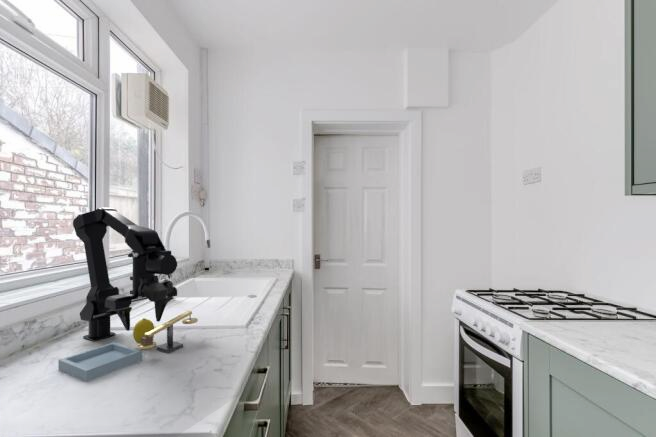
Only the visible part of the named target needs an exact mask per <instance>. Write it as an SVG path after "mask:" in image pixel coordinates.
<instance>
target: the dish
mask: <svg viewBox="0 0 656 437" xmlns="http://www.w3.org/2000/svg"><path fill="white" fill-rule="evenodd" d="M142 360H143V350H140V349H138V348H135V347H131V346H128V345H124V344H122V343H118V342H115V341H114V342H111V343H107V344H104V345H101V346H98V347H94V348H92V349H91V348H90V349H89V350H85V351H82V352H79V353H78V352H77V353H75V354H72V355H69V356H66V357H62V358H59V359H58V363H57V364H58V371H61V372H62V373H65V374H68V375H69V376H72V377H73V378H76V379H78V380H81V381H82V382H83V381H84V382H85V383H88V382H89V381H90V382H91V381H92V380H95V379H97V378H100V377H103V376H105V375H108V374H110V373H113V372H115V371H118V370H121V369H123V368H126V367H129V366H131V365H134V364H136V363H138V362H141V361H142Z"/></svg>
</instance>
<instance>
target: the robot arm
mask: <svg viewBox="0 0 656 437" xmlns="http://www.w3.org/2000/svg"><path fill="white" fill-rule="evenodd" d="M72 226H73V228H74V232H75V234H76V235H75V236H77V237H78V239H80V241H81V242H82V243H83V247H84V252H85V259H86V264H87V269H88V271H87V272H88V276H89V283H90V289H89V291H88V293H87V295H86V298H85V299H86V303H85V305H84V307H83V308H82V309H81V310H80V312H79V316H80V320H81V321H85V322H88V323H87V324H88V328H87V329H88V333H87V334H85V335H83V337H82V338H83V339H86V340H90V341H92V342H93V341H95V342H96V341H99V340H101V339H104V338H108V337H112V336H115V335H116V332H113V331H111V316H113V315H117V316H118V317H119V320H120V321H121V323H122V325H123V327H124V329H125V330H126V331H128V332H129V331H130V330H131V311H132V309H133V307H132V306H131V305H132V303H134V302H139V301H144V300H148V301H149V302H153V304H154V311H155V312H154V313H155V319H156V320H155V321H156V322H157V323H158V322H160V321H161V320H162V316H163V314H164V311H165V309H166V306H167V305H168V303H169V302H170V301H172V300H174V299H175V297H177V296H178V289H177V287H176V286H174V285H173V284H174V283H173V281H171V280H167V281H162V282H159V277H158V275H167V276H169V275H172V274H173V273H174V272H175V271H176V270H177V268H178V261H177V258H176V256H175V255H172V250H167V249H166V247H165V245H164V243H163V242H162V240H161V238H160V236H159V234H158V232H157V231H156V230H155V229H152V228H149V227H145V226H141V225H138V224H136V223H134V222H133V221H132V220H131V219H129V218H127V217H126V216H124V215H123V214H121V213H120V212H118V210H117V209H115V208H113V207H99V208H96V209H95V210H92V211H89V212H84V213H81V214H80V213H79V214H78V215H77V216H76V217H75V218H74V219H73V220H72ZM108 227H110V228H111V229H113V231H115V232H116V233H118V234H120V235H121V236H123V237H124V242H125V245H127V246H128V247H129V248H130V250H132V251H131V252H130V253H128V254H127V257H128V258H132V276H129V280H130V281H132V289H131V290H129V294H130V295H125V294H120V289H119V288H118V286H116V287H115V286H113V285H112V283H110V277H109V271H108V266H107V258H106V254H105V246H104V238H105V237H106V236H105V235H106V234H107V232H108ZM130 306H131V307H130Z"/></svg>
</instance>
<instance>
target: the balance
mask: <svg viewBox="0 0 656 437" xmlns="http://www.w3.org/2000/svg"><path fill="white" fill-rule="evenodd" d="M192 314H193V311H191V310H187V311H185V312H183V313H181V314H179V315H177V316H175V317H174V318H172V319H170V320H169V321H166V322H164V323H162V324H161V325H159V326H157V327H154V329H153V330H151V331H149V332H147V333H146V334H145V337H142V338H141V344H139V343H138V345H137V349H138V350H141V351H144V350H150V349H153V348H155V350H156V351H159V352H161V353H164V354H169V353H172V352H175V351H178V350H180V349H183V348H184V343H183V342H178V341H174V324H176V323H178V322H179V321H181V323H182V324H184V325H192V324H195V323H198V321H199V319H198V318H197V317H191V315H192ZM187 317H189V318H187ZM164 330H166V342H165V343H162V344H160V345H157V342H156V341H154V337H153V335H154V336H155V335H157V334H159V333H160V332H162V331H164Z"/></svg>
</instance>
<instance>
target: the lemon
mask: <svg viewBox="0 0 656 437" xmlns="http://www.w3.org/2000/svg"><path fill="white" fill-rule="evenodd" d="M153 329H155V325H154V323H153V321H152V320H150V319H147V318H142V319H141V320H140V319H139V321H137V322H136V323H135V325H134V327H133V331H132V336H133V340H134V341H135V342H136V343H137V344H138V345H139V344H141V338H142V337H145V334H146V333H147V332H149V331H151V330H153ZM154 337H155V335H153V338H154Z"/></svg>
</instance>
